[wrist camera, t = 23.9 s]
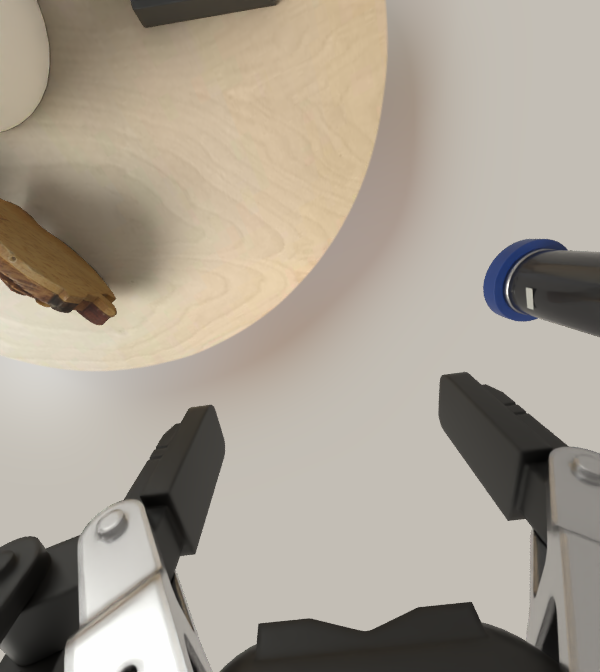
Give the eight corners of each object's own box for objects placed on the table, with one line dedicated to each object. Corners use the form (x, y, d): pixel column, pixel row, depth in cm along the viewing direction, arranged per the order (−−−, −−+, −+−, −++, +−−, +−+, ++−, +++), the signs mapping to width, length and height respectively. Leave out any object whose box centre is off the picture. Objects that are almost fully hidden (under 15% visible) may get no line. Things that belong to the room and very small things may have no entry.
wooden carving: (-6, 222, 32) (-123, 216, 23) (15, 190, 31) (-98, 171, 22) (122, 320, 37) (69, 348, 27) (144, 294, 36) (97, 315, 27)
